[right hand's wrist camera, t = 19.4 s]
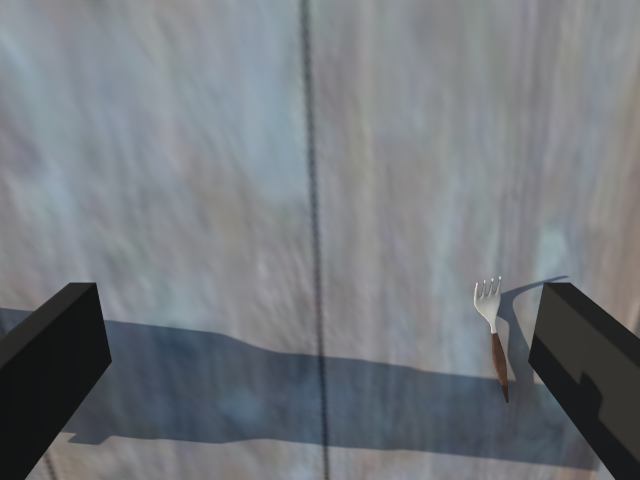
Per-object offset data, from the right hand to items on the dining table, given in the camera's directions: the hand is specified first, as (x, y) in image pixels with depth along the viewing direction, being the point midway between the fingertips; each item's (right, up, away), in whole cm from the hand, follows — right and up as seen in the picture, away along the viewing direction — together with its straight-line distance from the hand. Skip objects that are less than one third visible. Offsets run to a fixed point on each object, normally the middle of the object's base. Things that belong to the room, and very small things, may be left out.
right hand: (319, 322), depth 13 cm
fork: (+18, -8, +31) cm, 37 cm away
